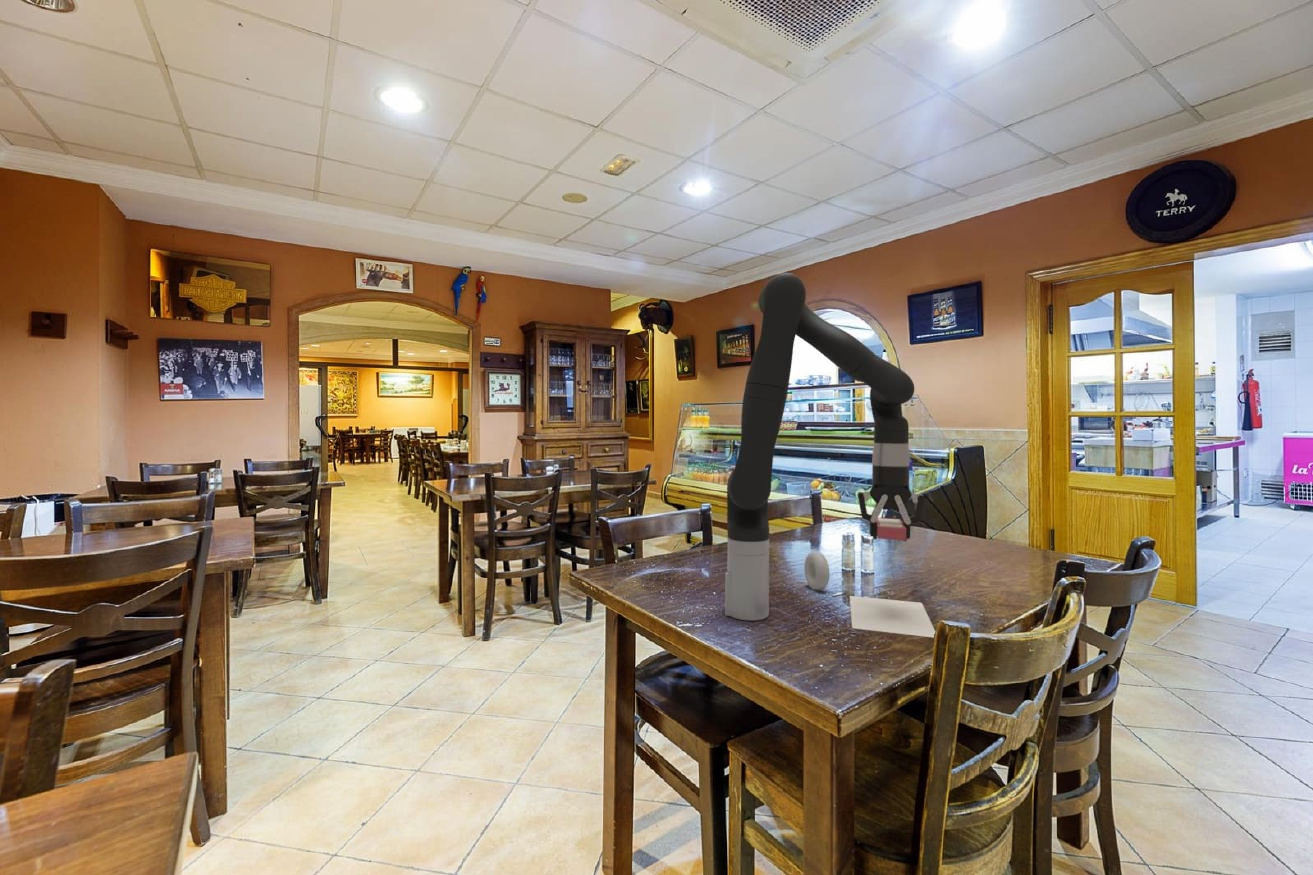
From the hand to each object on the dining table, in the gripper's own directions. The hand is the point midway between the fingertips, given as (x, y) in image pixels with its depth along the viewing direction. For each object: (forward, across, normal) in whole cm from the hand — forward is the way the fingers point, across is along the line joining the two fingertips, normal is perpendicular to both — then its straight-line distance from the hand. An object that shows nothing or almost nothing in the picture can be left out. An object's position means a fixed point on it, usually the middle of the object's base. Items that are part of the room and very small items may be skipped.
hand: (889, 539), depth 120 cm
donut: (+17, -16, +14) cm, 27 cm away
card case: (-2, 0, +7) cm, 7 cm away
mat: (+17, 0, -1) cm, 17 cm away
